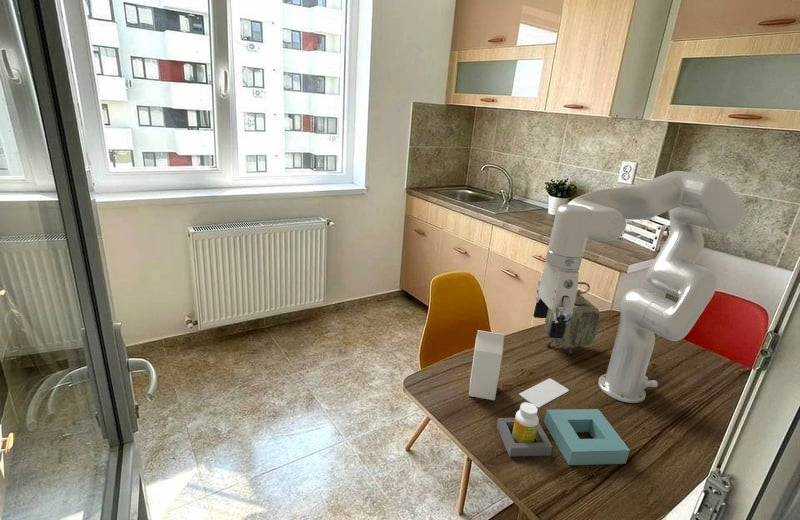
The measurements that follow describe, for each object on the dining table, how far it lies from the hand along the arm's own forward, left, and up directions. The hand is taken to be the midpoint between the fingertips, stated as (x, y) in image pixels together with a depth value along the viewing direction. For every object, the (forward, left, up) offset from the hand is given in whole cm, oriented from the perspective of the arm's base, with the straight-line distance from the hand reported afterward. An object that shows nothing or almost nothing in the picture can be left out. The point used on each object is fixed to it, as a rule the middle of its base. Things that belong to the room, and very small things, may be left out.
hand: (547, 327), depth 104 cm
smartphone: (-9, -11, -28) cm, 31 cm away
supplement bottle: (+4, +7, -28) cm, 29 cm away
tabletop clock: (-26, -33, -28) cm, 50 cm away
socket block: (-11, +8, -27) cm, 31 cm away
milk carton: (+9, -12, -28) cm, 31 cm away
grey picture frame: (+4, +7, -27) cm, 29 cm away
